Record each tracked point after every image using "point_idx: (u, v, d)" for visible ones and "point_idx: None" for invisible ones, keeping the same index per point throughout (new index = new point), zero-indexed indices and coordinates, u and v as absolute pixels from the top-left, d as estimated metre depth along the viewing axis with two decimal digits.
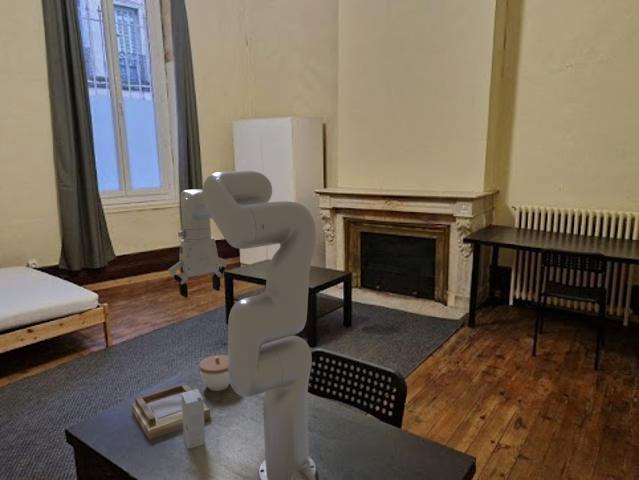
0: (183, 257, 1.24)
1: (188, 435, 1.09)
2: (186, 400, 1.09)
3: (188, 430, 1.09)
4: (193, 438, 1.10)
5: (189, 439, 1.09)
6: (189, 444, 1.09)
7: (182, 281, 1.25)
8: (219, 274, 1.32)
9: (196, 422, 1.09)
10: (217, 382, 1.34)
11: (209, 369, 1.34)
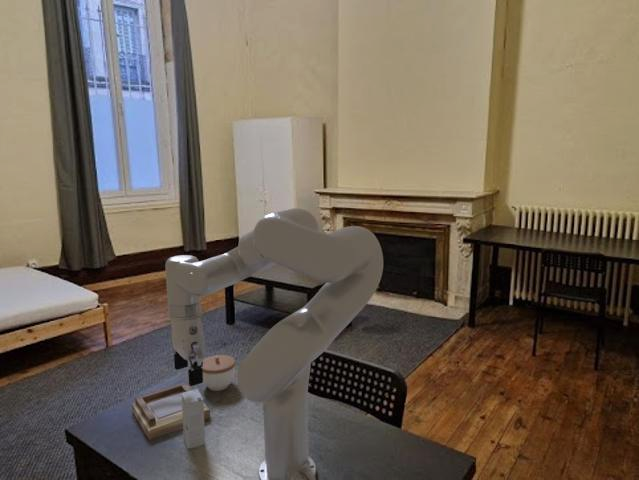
0: (200, 336, 1.05)
1: (188, 435, 1.09)
2: (186, 400, 1.09)
3: (188, 430, 1.09)
4: (193, 438, 1.10)
5: (189, 439, 1.09)
6: (189, 444, 1.09)
7: None
8: None
9: (196, 422, 1.09)
10: (217, 382, 1.34)
11: (209, 369, 1.34)
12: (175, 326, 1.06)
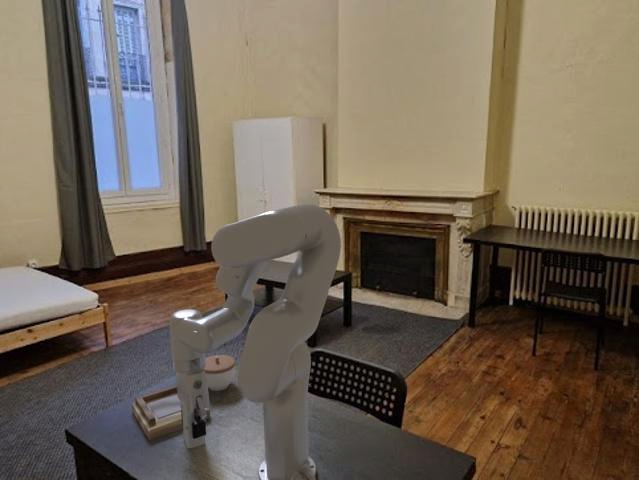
0: (204, 389, 1.07)
1: (188, 435, 1.09)
2: None
3: (188, 430, 1.09)
4: (193, 438, 1.10)
5: (189, 439, 1.09)
6: (189, 444, 1.09)
7: None
8: None
9: None
10: (217, 382, 1.34)
11: (209, 369, 1.34)
12: (180, 379, 1.08)
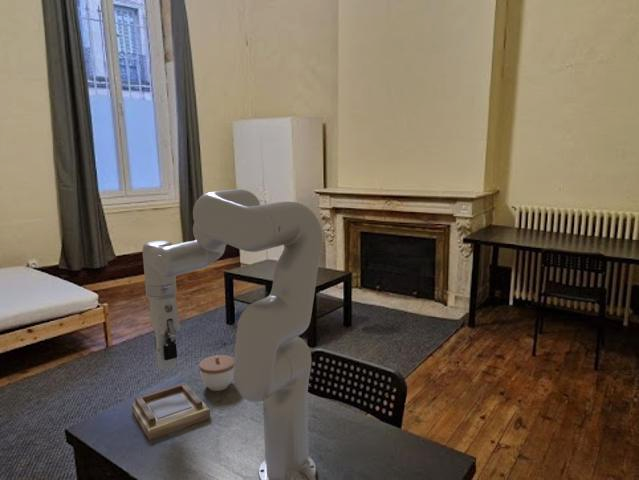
0: (175, 314, 1.15)
1: (160, 357, 1.17)
2: None
3: (160, 352, 1.17)
4: (165, 361, 1.18)
5: (161, 361, 1.18)
6: (161, 366, 1.18)
7: None
8: None
9: None
10: (217, 382, 1.34)
11: (209, 369, 1.34)
12: (152, 305, 1.17)
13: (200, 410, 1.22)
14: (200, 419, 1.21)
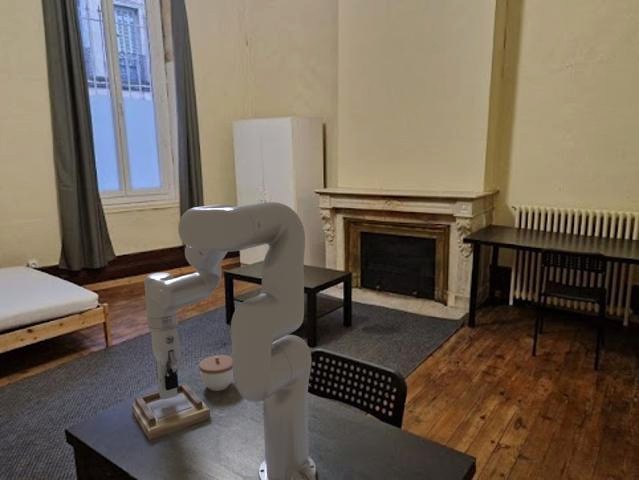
0: (176, 345, 1.18)
1: (161, 387, 1.20)
2: None
3: (161, 382, 1.19)
4: (166, 390, 1.20)
5: (162, 390, 1.20)
6: (162, 395, 1.20)
7: None
8: None
9: None
10: (217, 382, 1.34)
11: (209, 369, 1.34)
12: (154, 336, 1.19)
13: (200, 410, 1.22)
14: (200, 419, 1.21)
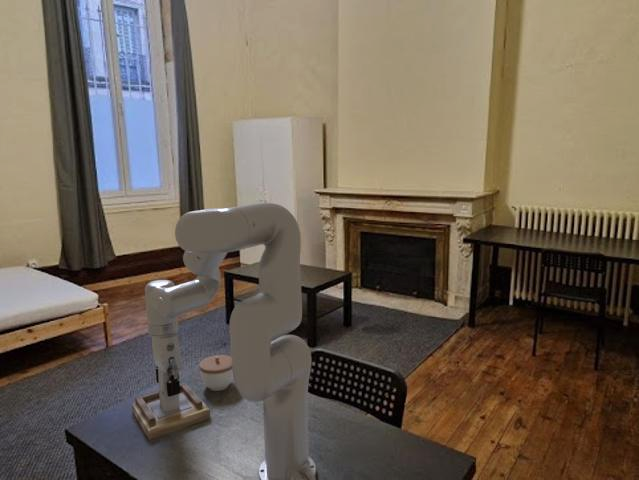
0: (176, 352, 1.18)
1: (164, 399, 1.20)
2: None
3: (164, 395, 1.20)
4: (168, 403, 1.21)
5: (165, 403, 1.20)
6: (165, 408, 1.20)
7: None
8: None
9: None
10: (217, 382, 1.34)
11: (209, 369, 1.34)
12: (155, 343, 1.19)
13: (200, 410, 1.22)
14: (200, 419, 1.21)
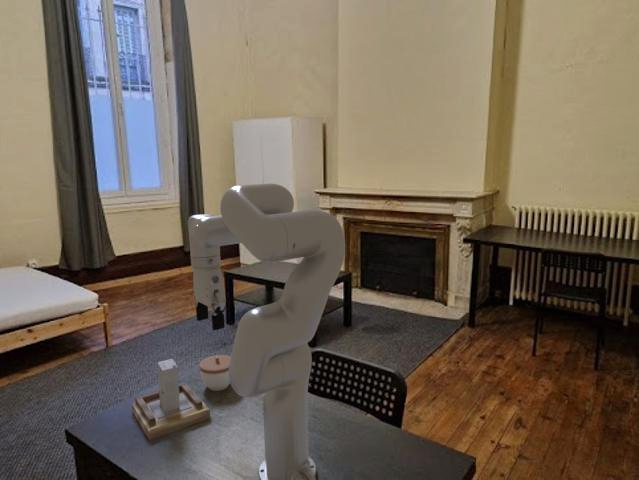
0: (221, 285, 1.17)
1: (164, 399, 1.20)
2: (162, 367, 1.20)
3: (164, 395, 1.20)
4: (168, 403, 1.21)
5: (165, 403, 1.20)
6: (165, 408, 1.20)
7: None
8: None
9: (171, 387, 1.20)
10: (217, 382, 1.34)
11: (209, 369, 1.34)
12: (198, 277, 1.18)
13: (200, 410, 1.22)
14: (200, 419, 1.21)
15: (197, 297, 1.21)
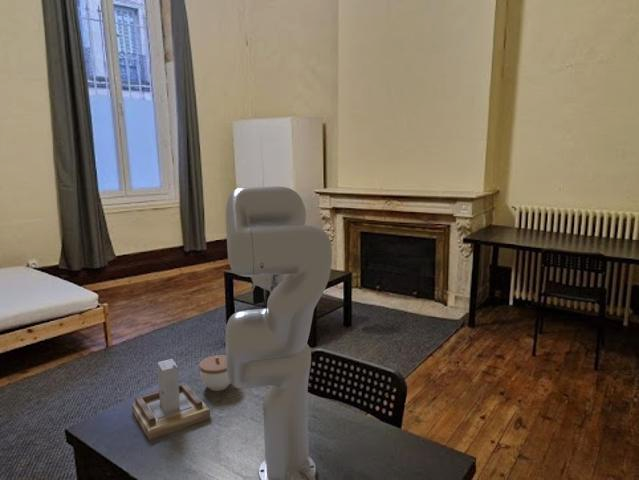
0: None
1: (164, 399, 1.20)
2: (162, 367, 1.20)
3: (164, 395, 1.20)
4: (169, 403, 1.21)
5: (165, 403, 1.20)
6: (165, 408, 1.20)
7: None
8: None
9: (171, 387, 1.20)
10: (217, 382, 1.34)
11: (209, 369, 1.34)
12: None
13: (200, 410, 1.22)
14: (200, 419, 1.21)
15: (255, 281, 1.24)
